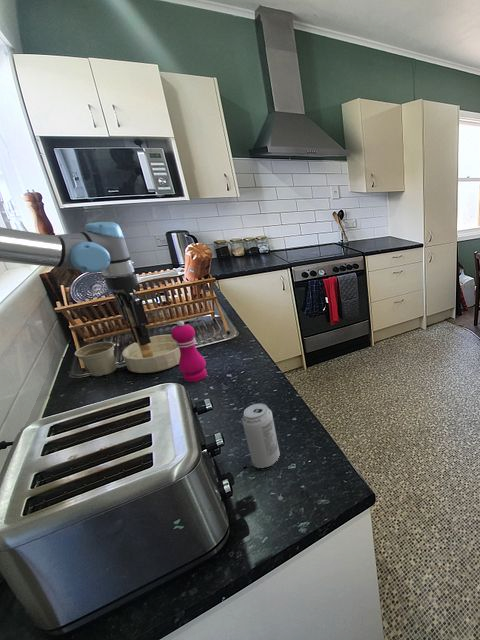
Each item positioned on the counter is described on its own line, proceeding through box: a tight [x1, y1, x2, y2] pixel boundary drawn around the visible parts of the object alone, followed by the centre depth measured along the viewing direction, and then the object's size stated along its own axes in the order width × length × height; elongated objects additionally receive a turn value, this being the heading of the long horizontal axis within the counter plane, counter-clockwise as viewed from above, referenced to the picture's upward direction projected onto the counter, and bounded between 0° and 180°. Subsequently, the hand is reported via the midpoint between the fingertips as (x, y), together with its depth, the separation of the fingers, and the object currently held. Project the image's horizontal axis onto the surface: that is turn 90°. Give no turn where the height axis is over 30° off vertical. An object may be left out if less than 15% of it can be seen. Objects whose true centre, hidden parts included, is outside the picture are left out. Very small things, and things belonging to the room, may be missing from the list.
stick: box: [125, 304, 153, 358], centre depth 113 cm, size 3×3×20 cm
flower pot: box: [74, 341, 117, 377], centre depth 112 cm, size 9×9×9 cm
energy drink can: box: [241, 402, 281, 469], centre depth 79 cm, size 6×6×15 cm
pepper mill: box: [170, 320, 208, 383], centre depth 108 cm, size 7×7×20 cm
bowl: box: [121, 333, 180, 374], centre depth 119 cm, size 17×17×6 cm
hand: (143, 342), depth 115 cm, fingers closed on stick, 3 cm apart
